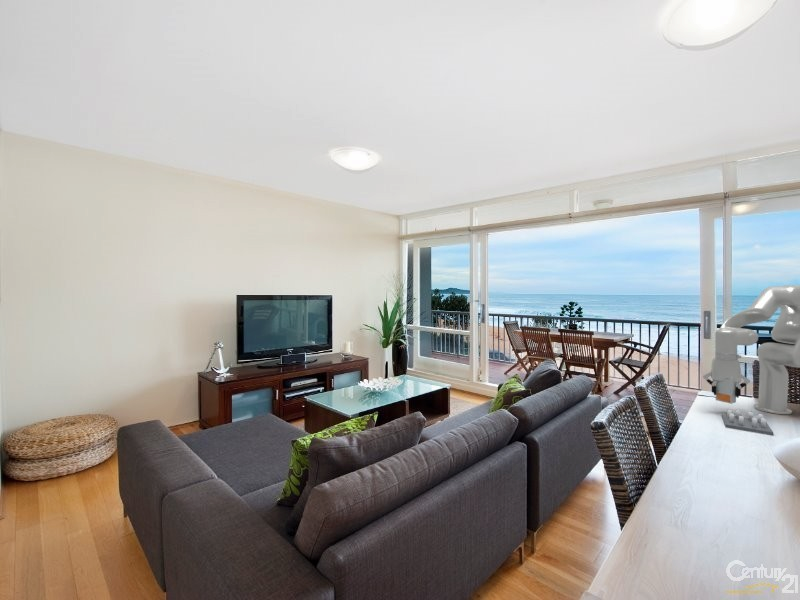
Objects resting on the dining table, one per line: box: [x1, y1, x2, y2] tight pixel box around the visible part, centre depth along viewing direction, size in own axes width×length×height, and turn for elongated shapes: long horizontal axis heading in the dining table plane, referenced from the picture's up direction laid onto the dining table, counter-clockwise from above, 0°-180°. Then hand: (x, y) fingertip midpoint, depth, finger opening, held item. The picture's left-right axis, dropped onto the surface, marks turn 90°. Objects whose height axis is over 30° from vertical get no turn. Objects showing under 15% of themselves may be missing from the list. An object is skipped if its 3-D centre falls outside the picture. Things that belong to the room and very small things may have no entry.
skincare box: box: [715, 377, 737, 405], centre depth 169 cm, size 6×4×12 cm
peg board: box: [721, 409, 774, 436], centre depth 155 cm, size 16×14×5 cm
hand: (725, 395), depth 169 cm, fingers closed on skincare box, 7 cm apart
